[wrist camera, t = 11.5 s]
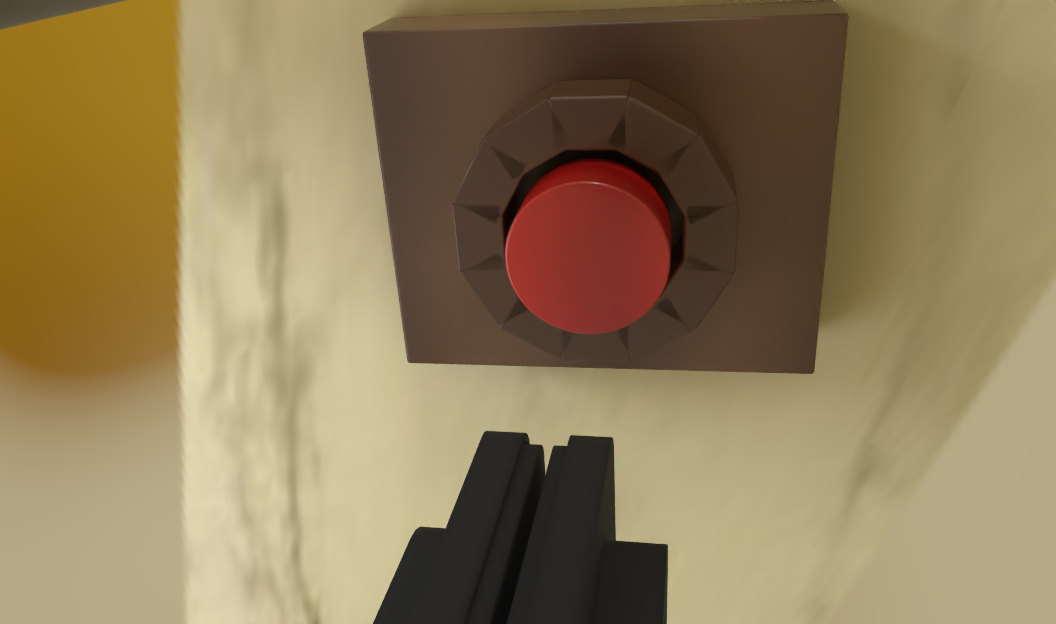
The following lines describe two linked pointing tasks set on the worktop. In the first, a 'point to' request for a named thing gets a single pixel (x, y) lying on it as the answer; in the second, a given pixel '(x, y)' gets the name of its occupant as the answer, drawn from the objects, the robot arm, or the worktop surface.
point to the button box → (630, 139)
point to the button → (590, 247)
